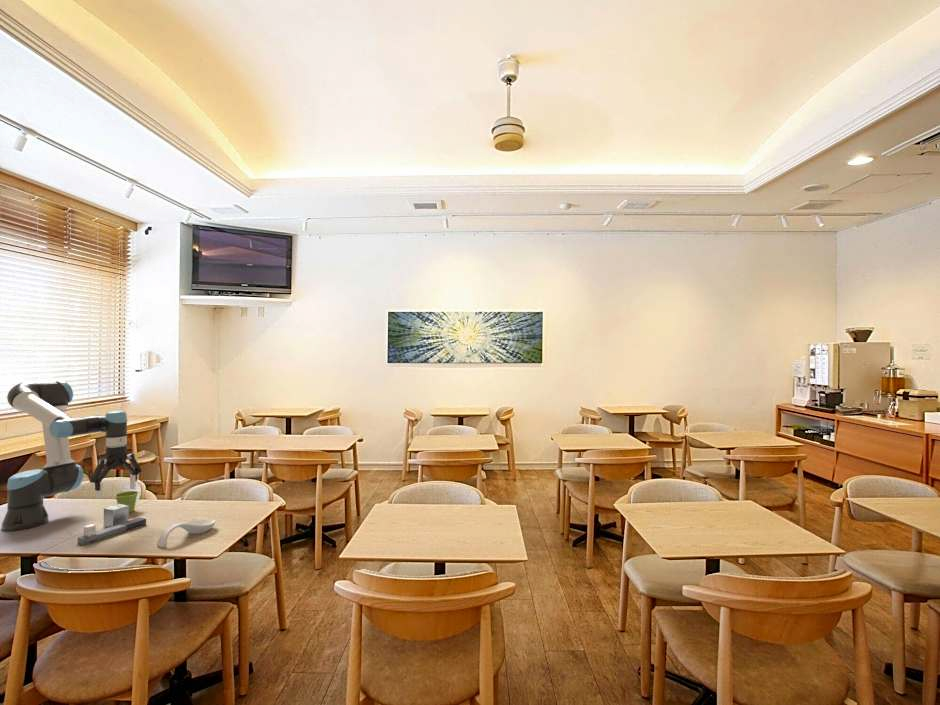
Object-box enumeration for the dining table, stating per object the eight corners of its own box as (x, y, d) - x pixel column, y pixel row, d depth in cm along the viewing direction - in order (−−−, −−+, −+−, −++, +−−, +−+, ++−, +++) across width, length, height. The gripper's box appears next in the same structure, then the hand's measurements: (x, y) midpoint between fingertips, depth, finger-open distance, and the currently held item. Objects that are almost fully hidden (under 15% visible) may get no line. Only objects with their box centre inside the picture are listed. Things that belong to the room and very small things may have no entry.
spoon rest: (200, 525, 206) (200, 509, 206) (221, 528, 203) (221, 512, 203) (150, 546, 184) (150, 528, 184) (172, 550, 180) (172, 532, 180)
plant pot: (143, 509, 227) (143, 491, 227) (124, 515, 218) (124, 497, 218) (128, 507, 229) (128, 490, 229) (109, 513, 220) (109, 495, 220)
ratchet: (85, 545, 184) (85, 529, 184) (77, 543, 186) (77, 527, 186) (146, 524, 206) (146, 510, 206) (138, 523, 208) (138, 508, 208)
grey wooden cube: (103, 526, 204) (103, 508, 204) (119, 521, 210) (119, 503, 210) (113, 528, 202) (113, 510, 202) (128, 523, 208) (128, 505, 208)
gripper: (90, 452, 193) (90, 502, 193) (150, 441, 216) (150, 486, 216) (79, 450, 196) (79, 500, 196) (139, 440, 219) (140, 484, 219)
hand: (116, 493), depth 206 cm, fingers open, 13 cm apart
